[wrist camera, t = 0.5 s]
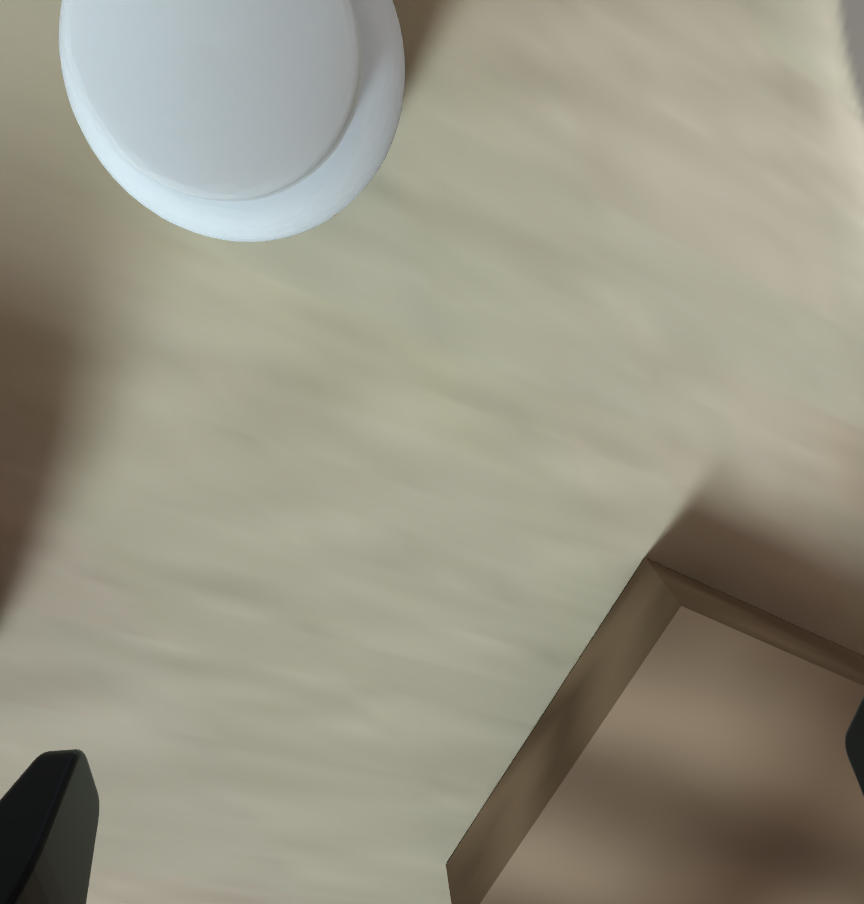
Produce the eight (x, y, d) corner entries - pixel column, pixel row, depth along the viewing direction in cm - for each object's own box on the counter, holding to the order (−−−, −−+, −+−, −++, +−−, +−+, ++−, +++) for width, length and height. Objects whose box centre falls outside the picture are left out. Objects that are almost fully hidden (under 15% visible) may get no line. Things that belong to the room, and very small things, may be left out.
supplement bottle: (287, -79, 19) (229, -323, 9) (428, 123, 21) (500, 92, 11) (113, 76, 20) (-104, -4, 10) (264, 257, 21) (201, 336, 12)
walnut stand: (742, 956, 33) (779, 1030, 30) (445, 864, 30) (456, 938, 27) (954, 697, 29) (1018, 754, 27) (644, 557, 26) (681, 606, 23)
